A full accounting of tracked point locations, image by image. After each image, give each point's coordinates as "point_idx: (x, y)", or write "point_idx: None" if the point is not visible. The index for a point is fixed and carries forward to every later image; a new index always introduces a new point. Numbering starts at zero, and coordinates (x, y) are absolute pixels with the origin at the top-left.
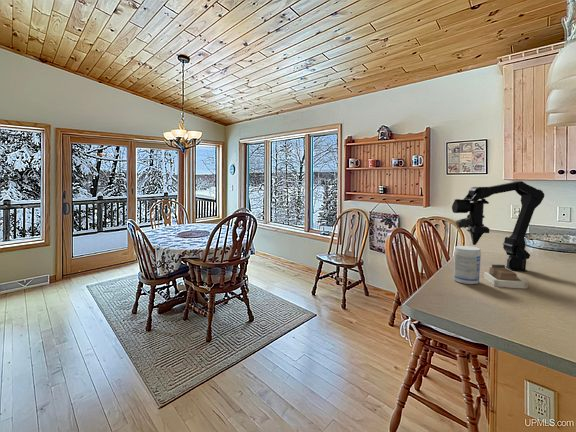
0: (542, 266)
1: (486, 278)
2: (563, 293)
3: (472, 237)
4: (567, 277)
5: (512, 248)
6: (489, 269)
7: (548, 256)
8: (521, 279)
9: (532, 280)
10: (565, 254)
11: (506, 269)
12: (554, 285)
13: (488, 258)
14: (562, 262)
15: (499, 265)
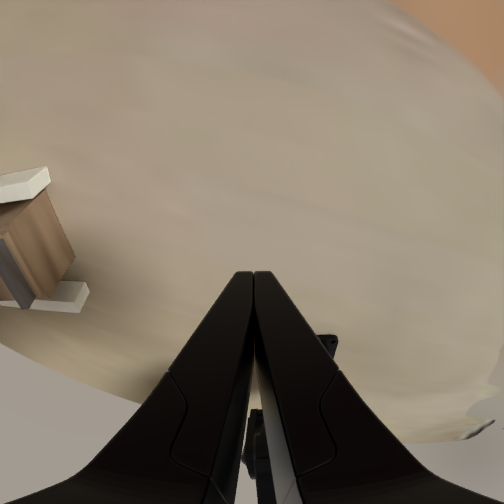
0: None
1: (13, 174)
2: (25, 349)
3: (191, 395)
4: None
5: (254, 453)
6: (14, 218)
7: (454, 422)
8: (8, 301)
9: (117, 344)
10: (457, 436)
11: (6, 292)
12: (93, 369)
13: (494, 304)
14: (395, 436)
15: (6, 282)
